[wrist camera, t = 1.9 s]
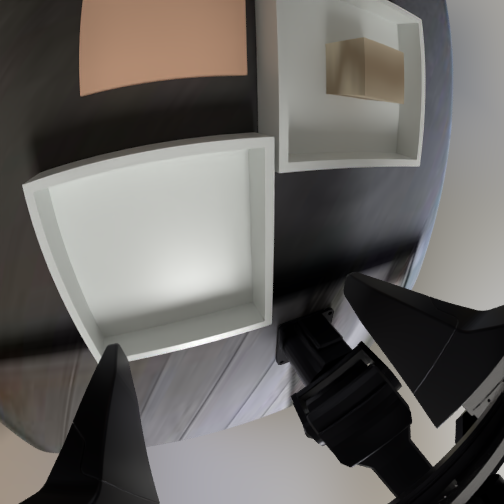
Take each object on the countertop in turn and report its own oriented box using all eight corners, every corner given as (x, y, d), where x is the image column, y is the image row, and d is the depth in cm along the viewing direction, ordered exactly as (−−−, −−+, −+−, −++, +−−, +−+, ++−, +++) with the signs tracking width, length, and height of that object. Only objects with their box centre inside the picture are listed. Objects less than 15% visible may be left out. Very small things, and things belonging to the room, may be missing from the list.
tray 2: (395, 157, 22) (419, 166, 20) (258, 163, 18) (279, 173, 16) (396, 21, 15) (421, 19, 13) (254, -23, 11) (273, -40, 8)
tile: (243, 75, 15) (247, 74, 14) (82, 96, 12) (80, 96, 11) (240, -43, 10) (244, -46, 9) (89, -33, 6) (88, -37, 6)
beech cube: (365, 99, 18) (403, 104, 15) (326, 93, 17) (364, 95, 13) (365, 54, 16) (403, 52, 13) (325, 44, 15) (363, 37, 11)
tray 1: (257, 302, 24) (271, 324, 22) (100, 339, 20) (100, 366, 17) (254, 132, 17) (274, 136, 14) (39, 172, 12) (22, 184, 10)
